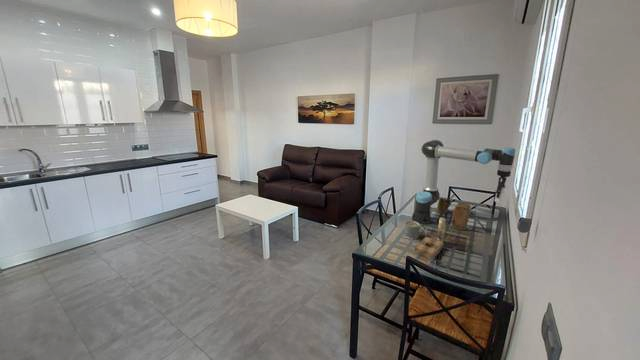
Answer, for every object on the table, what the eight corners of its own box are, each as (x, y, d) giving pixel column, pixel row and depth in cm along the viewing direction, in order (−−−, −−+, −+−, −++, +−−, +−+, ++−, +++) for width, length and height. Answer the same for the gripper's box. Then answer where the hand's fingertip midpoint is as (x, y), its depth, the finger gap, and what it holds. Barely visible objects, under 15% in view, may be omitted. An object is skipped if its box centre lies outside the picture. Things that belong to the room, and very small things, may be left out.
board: (414, 252, 168) (415, 247, 166) (425, 241, 180) (425, 236, 179) (433, 259, 160) (434, 254, 159) (442, 247, 172) (443, 242, 171)
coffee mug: (402, 237, 187) (403, 224, 184) (406, 231, 195) (407, 219, 192) (421, 242, 180) (422, 229, 177) (424, 236, 187) (425, 223, 184)
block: (467, 227, 198) (471, 204, 192) (465, 231, 193) (469, 207, 187) (452, 224, 205) (455, 200, 199) (449, 227, 199) (453, 204, 193)
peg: (435, 242, 179) (438, 219, 174) (437, 239, 182) (440, 217, 177) (441, 244, 176) (445, 220, 171) (443, 241, 179) (447, 218, 174)
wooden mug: (450, 215, 220) (453, 196, 214) (434, 211, 228) (436, 192, 223) (453, 212, 226) (456, 193, 220) (437, 208, 235) (440, 189, 229)
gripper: (508, 175, 164) (502, 205, 170) (513, 167, 182) (507, 195, 188) (494, 173, 169) (488, 202, 175) (500, 165, 186) (495, 192, 193)
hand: (498, 198), depth 182 cm, fingers open, 13 cm apart
